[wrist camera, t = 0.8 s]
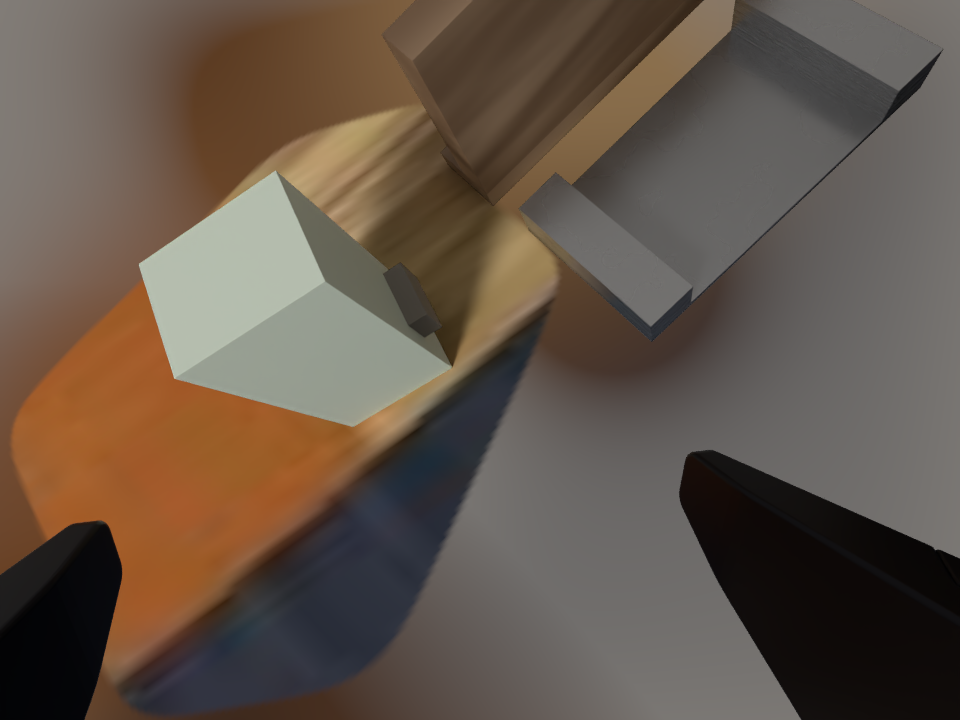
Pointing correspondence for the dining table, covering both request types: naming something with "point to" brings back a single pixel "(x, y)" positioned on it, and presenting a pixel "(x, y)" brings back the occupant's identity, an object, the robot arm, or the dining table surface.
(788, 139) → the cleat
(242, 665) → the dining table surface
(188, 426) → the dining table surface
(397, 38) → the wall board
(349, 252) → the sage green block
